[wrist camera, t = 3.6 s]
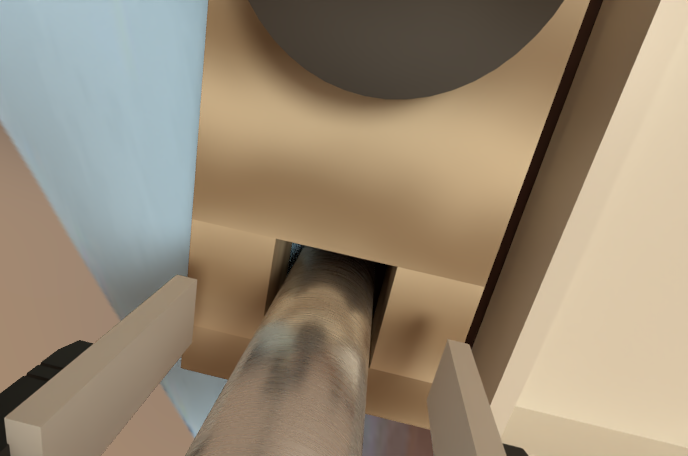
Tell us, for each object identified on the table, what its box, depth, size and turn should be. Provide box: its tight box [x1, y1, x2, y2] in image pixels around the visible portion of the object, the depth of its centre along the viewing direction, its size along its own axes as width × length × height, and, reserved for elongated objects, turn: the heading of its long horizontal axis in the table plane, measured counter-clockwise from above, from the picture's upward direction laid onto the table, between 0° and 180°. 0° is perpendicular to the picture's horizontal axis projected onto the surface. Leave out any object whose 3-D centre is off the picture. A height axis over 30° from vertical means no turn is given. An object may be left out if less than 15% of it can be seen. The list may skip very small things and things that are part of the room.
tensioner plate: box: [181, 0, 590, 429], centre depth 14 cm, size 24×12×8 cm, turn 169°
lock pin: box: [185, 245, 375, 456], centre depth 13 cm, size 4×4×14 cm
